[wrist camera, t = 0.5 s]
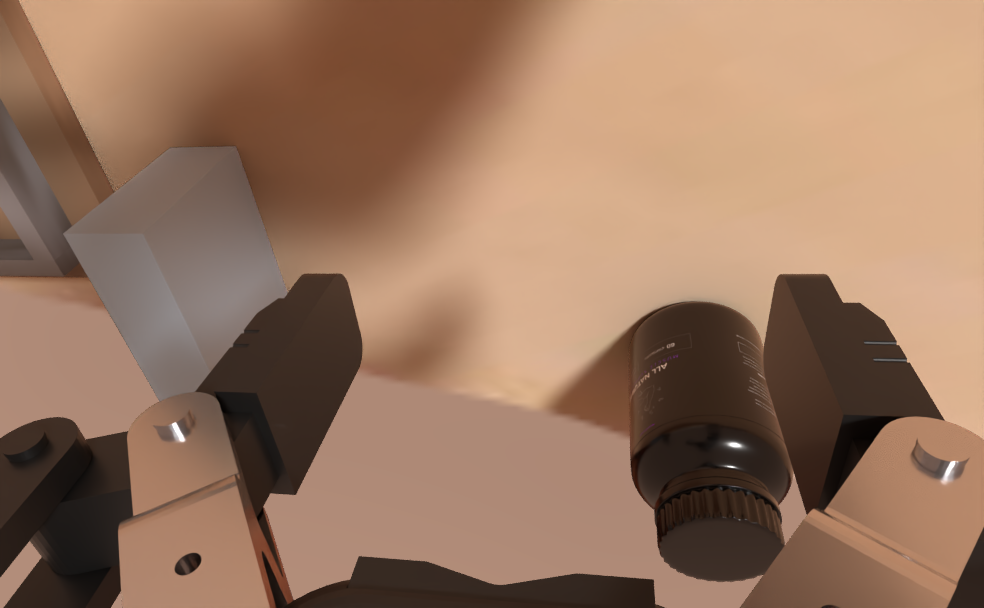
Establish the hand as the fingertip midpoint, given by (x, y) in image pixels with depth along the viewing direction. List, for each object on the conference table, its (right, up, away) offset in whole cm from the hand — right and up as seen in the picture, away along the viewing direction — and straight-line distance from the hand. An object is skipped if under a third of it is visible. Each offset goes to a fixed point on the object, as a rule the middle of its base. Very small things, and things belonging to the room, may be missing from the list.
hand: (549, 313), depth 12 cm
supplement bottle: (+10, -2, +22) cm, 24 cm away
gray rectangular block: (-15, +4, +22) cm, 27 cm away
